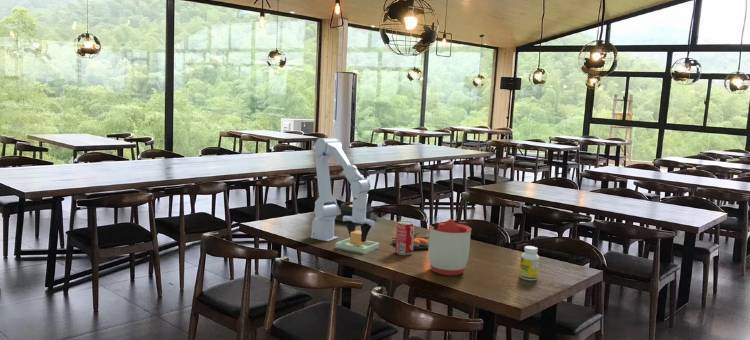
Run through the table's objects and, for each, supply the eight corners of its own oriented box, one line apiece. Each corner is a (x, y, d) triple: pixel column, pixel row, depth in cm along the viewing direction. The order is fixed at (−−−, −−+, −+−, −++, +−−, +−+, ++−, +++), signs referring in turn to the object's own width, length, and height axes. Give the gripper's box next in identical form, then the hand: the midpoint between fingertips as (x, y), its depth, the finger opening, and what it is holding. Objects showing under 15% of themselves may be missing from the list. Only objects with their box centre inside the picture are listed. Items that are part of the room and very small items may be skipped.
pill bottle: (516, 275, 224) (519, 244, 223) (533, 275, 225) (536, 245, 223) (522, 280, 218) (525, 249, 216) (539, 281, 218) (542, 250, 217)
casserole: (348, 227, 286) (348, 210, 285) (324, 219, 299) (325, 203, 298) (386, 221, 302) (387, 205, 301) (362, 214, 316) (363, 199, 315)
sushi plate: (402, 253, 248) (403, 244, 248) (377, 235, 276) (377, 227, 275) (464, 249, 258) (465, 241, 258) (434, 232, 286) (434, 225, 286)
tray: (335, 248, 248) (335, 242, 248) (351, 242, 259) (351, 237, 258) (364, 254, 241) (364, 248, 241) (379, 248, 252) (379, 243, 251)
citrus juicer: (437, 261, 236) (440, 211, 234) (476, 272, 226) (480, 219, 223) (414, 269, 224) (417, 217, 222) (453, 280, 214) (457, 226, 211)
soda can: (412, 256, 242) (414, 225, 240) (394, 255, 243) (396, 223, 241) (413, 251, 249) (415, 221, 247) (396, 250, 250) (397, 219, 248)
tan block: (349, 244, 249) (350, 232, 249) (356, 241, 254) (356, 230, 253) (359, 246, 247) (360, 234, 246) (366, 243, 251) (366, 232, 250)
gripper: (339, 207, 248) (337, 239, 250) (369, 212, 241) (367, 245, 243) (348, 204, 254) (347, 235, 256) (378, 209, 247) (376, 241, 249)
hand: (357, 240), depth 250 cm, fingers closed on tan block, 5 cm apart
